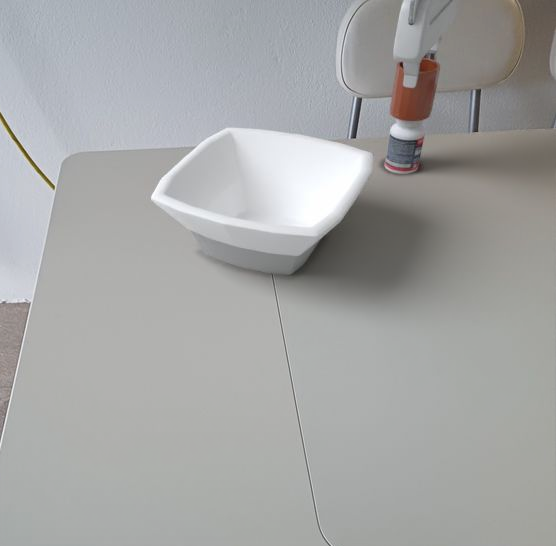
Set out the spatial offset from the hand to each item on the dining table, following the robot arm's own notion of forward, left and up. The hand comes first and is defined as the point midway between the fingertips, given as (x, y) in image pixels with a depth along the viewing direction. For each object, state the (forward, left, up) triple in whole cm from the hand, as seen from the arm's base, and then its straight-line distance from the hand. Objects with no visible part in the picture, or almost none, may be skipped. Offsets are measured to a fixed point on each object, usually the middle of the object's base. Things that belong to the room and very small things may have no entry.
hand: (419, 74), depth 93 cm
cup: (0, 0, -6) cm, 6 cm away
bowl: (+30, +5, -15) cm, 34 cm away
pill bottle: (0, 0, -15) cm, 15 cm away
